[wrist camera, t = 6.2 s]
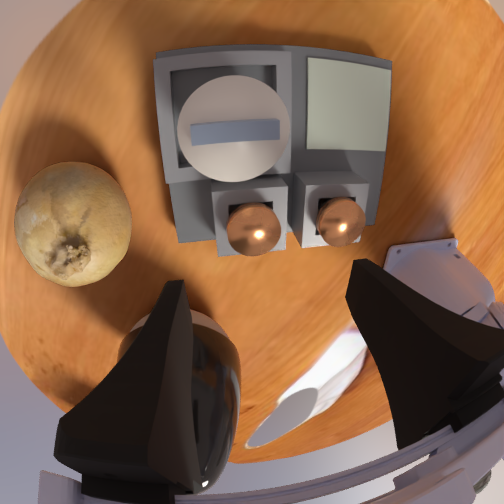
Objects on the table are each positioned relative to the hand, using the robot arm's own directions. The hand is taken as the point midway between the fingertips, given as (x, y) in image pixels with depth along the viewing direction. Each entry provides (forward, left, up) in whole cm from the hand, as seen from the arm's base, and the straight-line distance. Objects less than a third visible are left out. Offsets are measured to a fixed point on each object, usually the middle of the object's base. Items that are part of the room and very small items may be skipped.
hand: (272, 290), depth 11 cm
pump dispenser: (+6, +12, -10) cm, 17 cm away
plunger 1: (0, 0, -7) cm, 7 cm away
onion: (+11, -1, -10) cm, 15 cm away
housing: (-3, -4, -9) cm, 10 cm away
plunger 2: (-5, 0, -7) cm, 9 cm away
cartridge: (+1, -6, -8) cm, 10 cm away
